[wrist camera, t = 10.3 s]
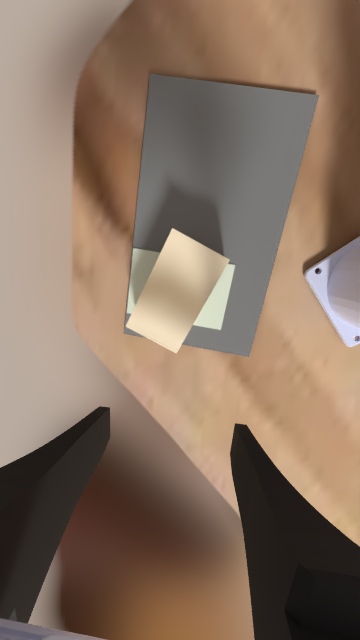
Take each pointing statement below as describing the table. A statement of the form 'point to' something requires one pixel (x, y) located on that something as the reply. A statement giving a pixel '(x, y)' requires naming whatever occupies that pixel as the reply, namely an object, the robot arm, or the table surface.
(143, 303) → the beige wooden block
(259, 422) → the table surface
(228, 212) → the mat
